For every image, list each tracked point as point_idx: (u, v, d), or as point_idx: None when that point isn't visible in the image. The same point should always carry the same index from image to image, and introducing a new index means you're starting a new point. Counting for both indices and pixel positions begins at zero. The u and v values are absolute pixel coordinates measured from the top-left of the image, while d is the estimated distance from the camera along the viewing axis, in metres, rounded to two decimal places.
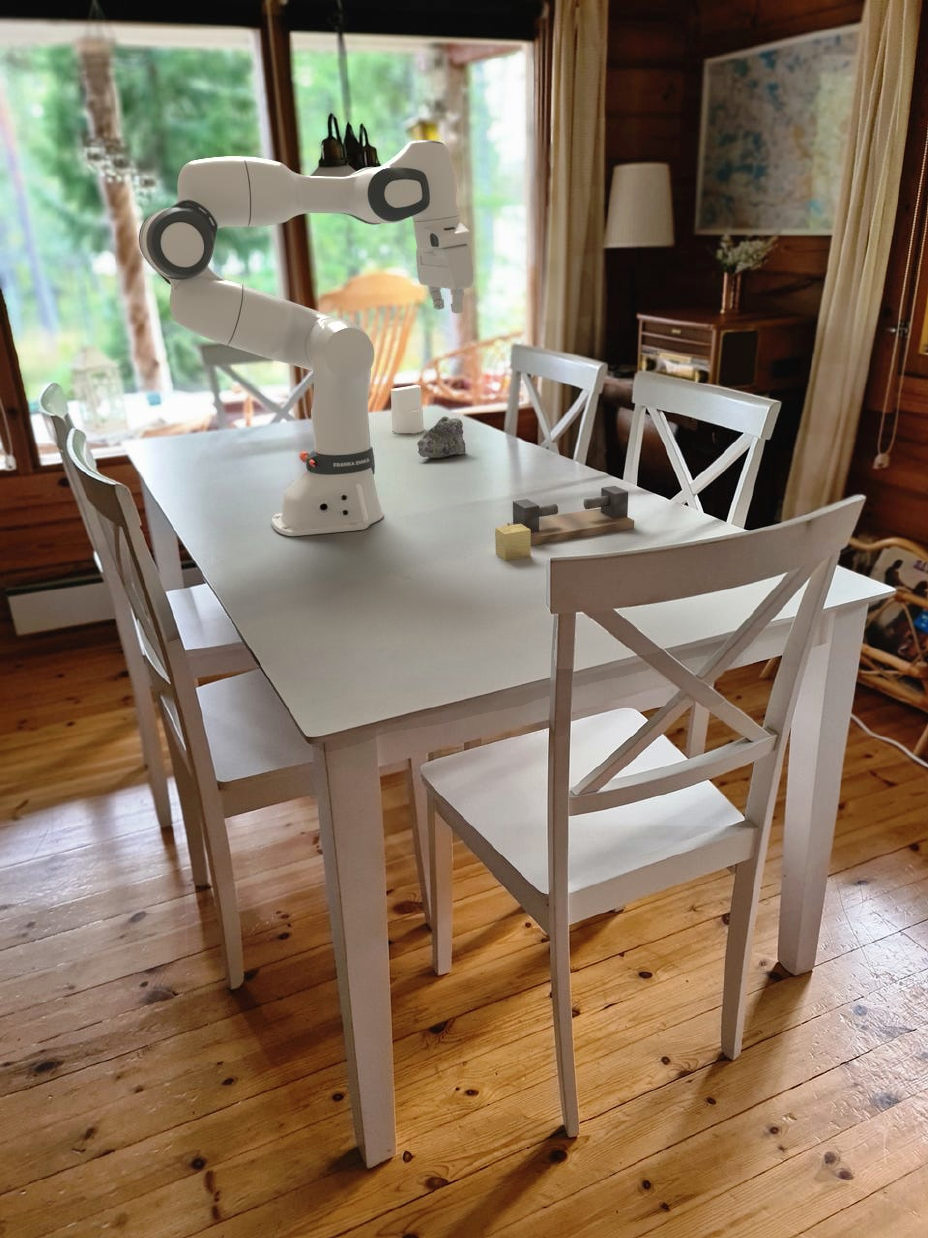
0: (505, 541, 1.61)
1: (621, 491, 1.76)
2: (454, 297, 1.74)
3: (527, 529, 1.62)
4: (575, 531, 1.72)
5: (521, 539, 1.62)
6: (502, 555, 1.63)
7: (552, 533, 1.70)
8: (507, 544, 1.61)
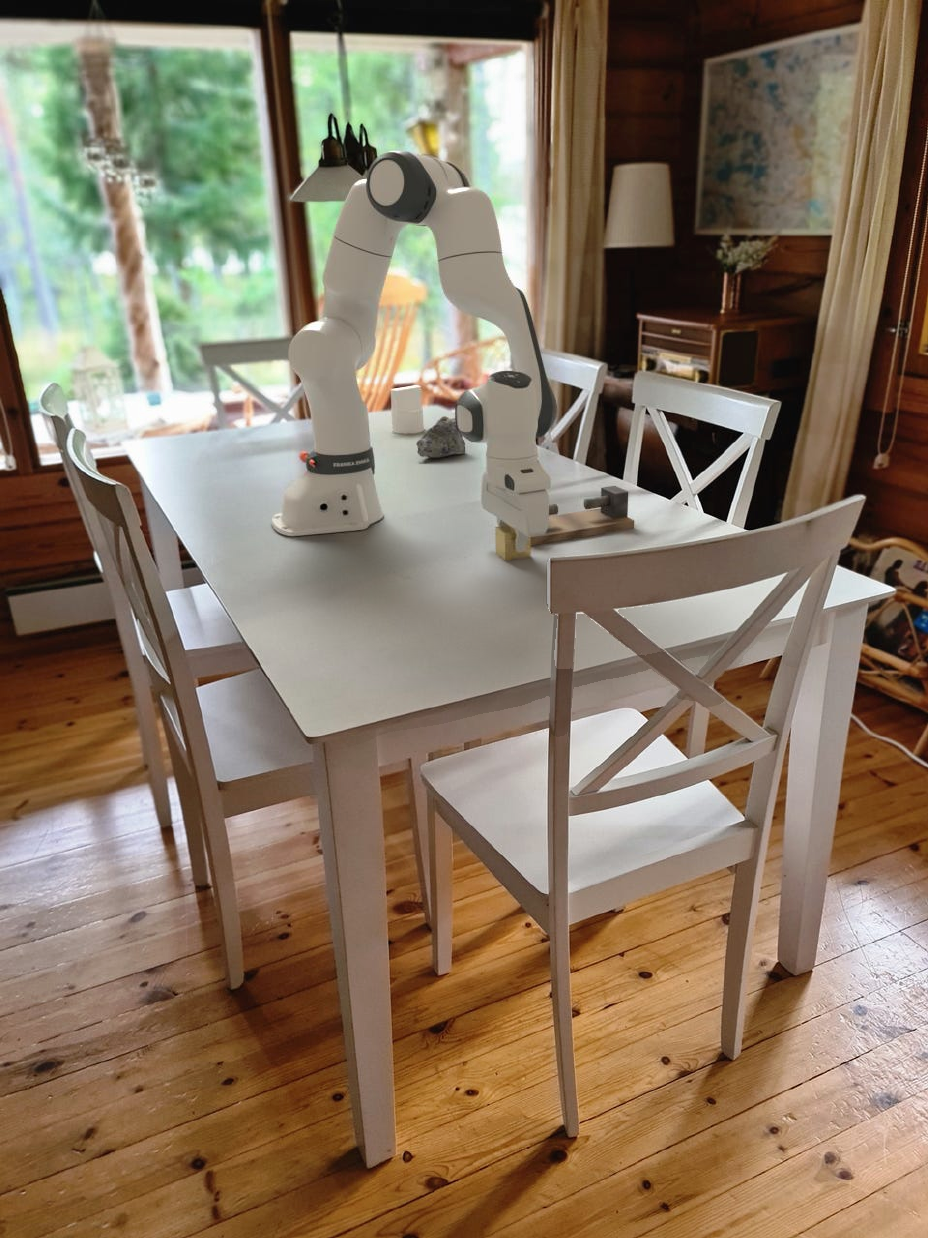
0: (505, 540, 1.61)
1: (621, 491, 1.76)
2: (518, 537, 1.59)
3: None
4: (575, 531, 1.72)
5: None
6: (502, 554, 1.63)
7: (552, 533, 1.70)
8: (508, 543, 1.61)
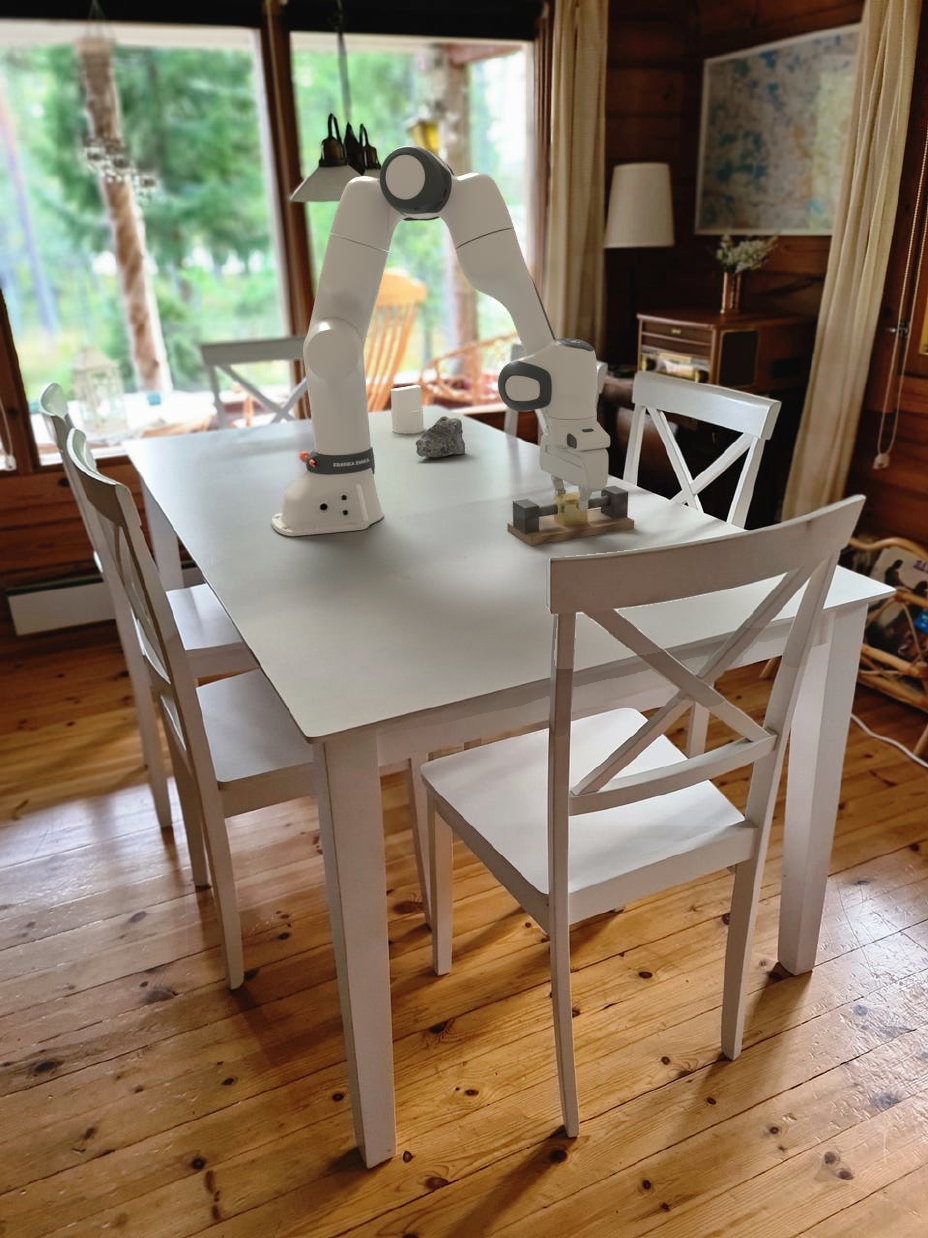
0: (564, 507, 1.72)
1: (621, 491, 1.76)
2: (582, 496, 1.69)
3: None
4: (575, 531, 1.72)
5: None
6: (561, 521, 1.75)
7: (552, 533, 1.70)
8: (567, 510, 1.73)
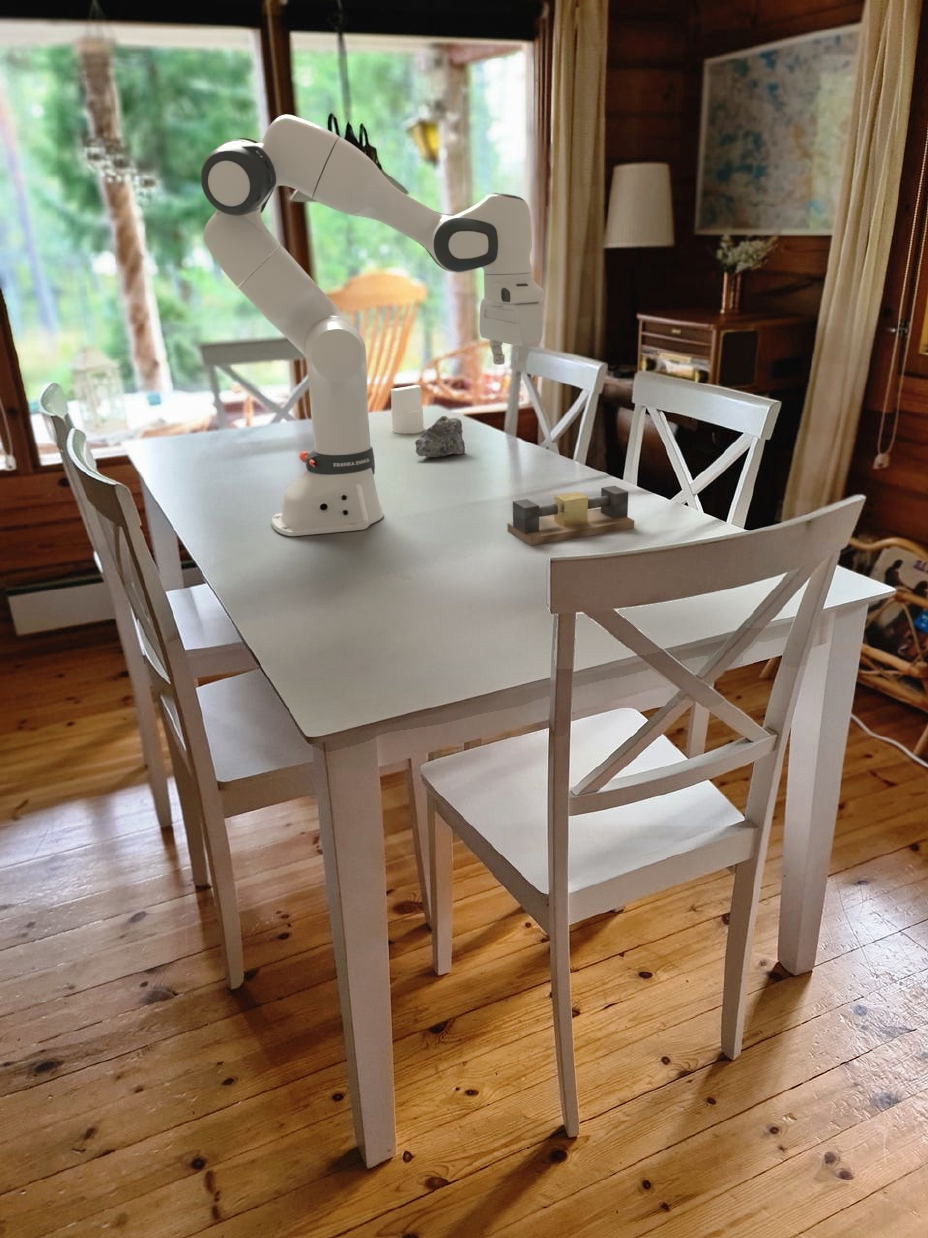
0: (564, 507, 1.72)
1: (621, 491, 1.76)
2: (519, 354, 1.68)
3: (585, 496, 1.74)
4: (575, 531, 1.72)
5: (580, 506, 1.74)
6: (561, 521, 1.75)
7: (552, 533, 1.70)
8: (567, 510, 1.73)
